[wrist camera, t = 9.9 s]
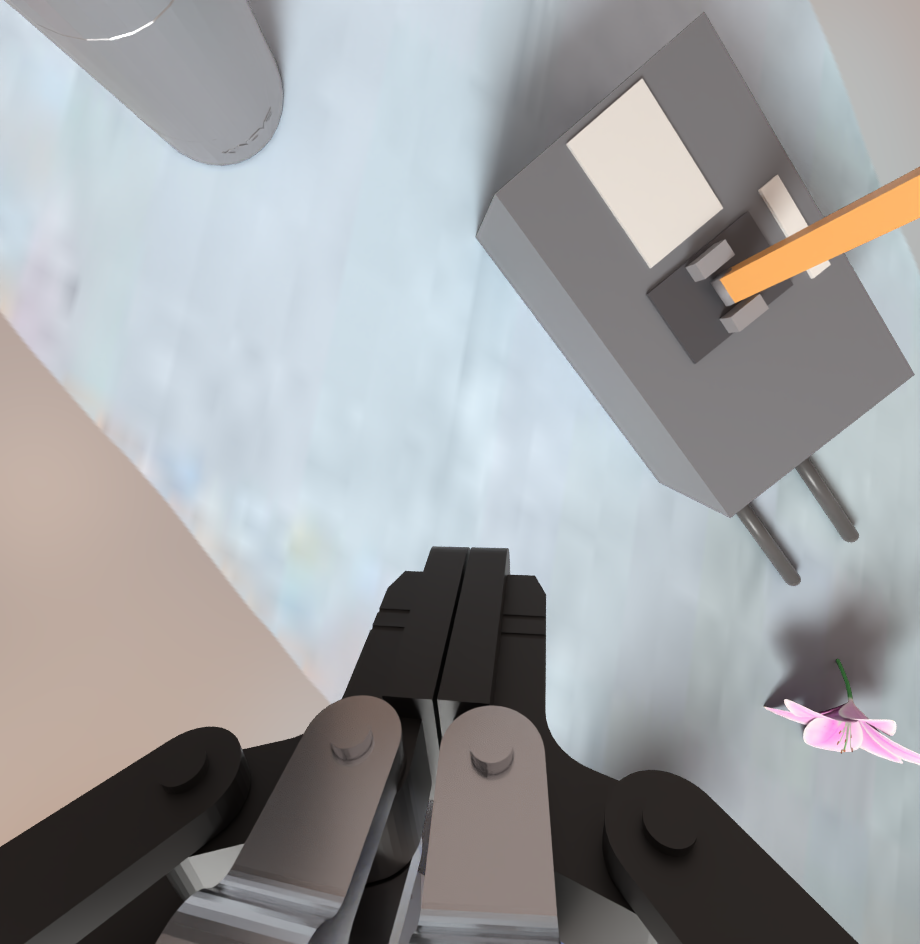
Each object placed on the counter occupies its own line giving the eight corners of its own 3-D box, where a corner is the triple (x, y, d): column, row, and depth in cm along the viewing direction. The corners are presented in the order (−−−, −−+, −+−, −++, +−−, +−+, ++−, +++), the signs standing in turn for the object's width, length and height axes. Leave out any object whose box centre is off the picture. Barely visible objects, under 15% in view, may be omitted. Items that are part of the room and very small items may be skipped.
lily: (739, 640, 48) (774, 749, 40) (892, 614, 43) (964, 732, 36) (764, 704, 54) (798, 809, 46) (901, 688, 49) (964, 802, 42)
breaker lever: (704, 281, 29) (984, 131, 19) (713, 271, 30) (990, 119, 19) (725, 313, 30) (1009, 184, 19) (733, 302, 30) (1015, 171, 20)
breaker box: (475, 237, 38) (499, 184, 27) (628, 105, 37) (719, -8, 26) (753, 609, 46) (861, 688, 35) (886, 508, 45) (1040, 557, 34)
